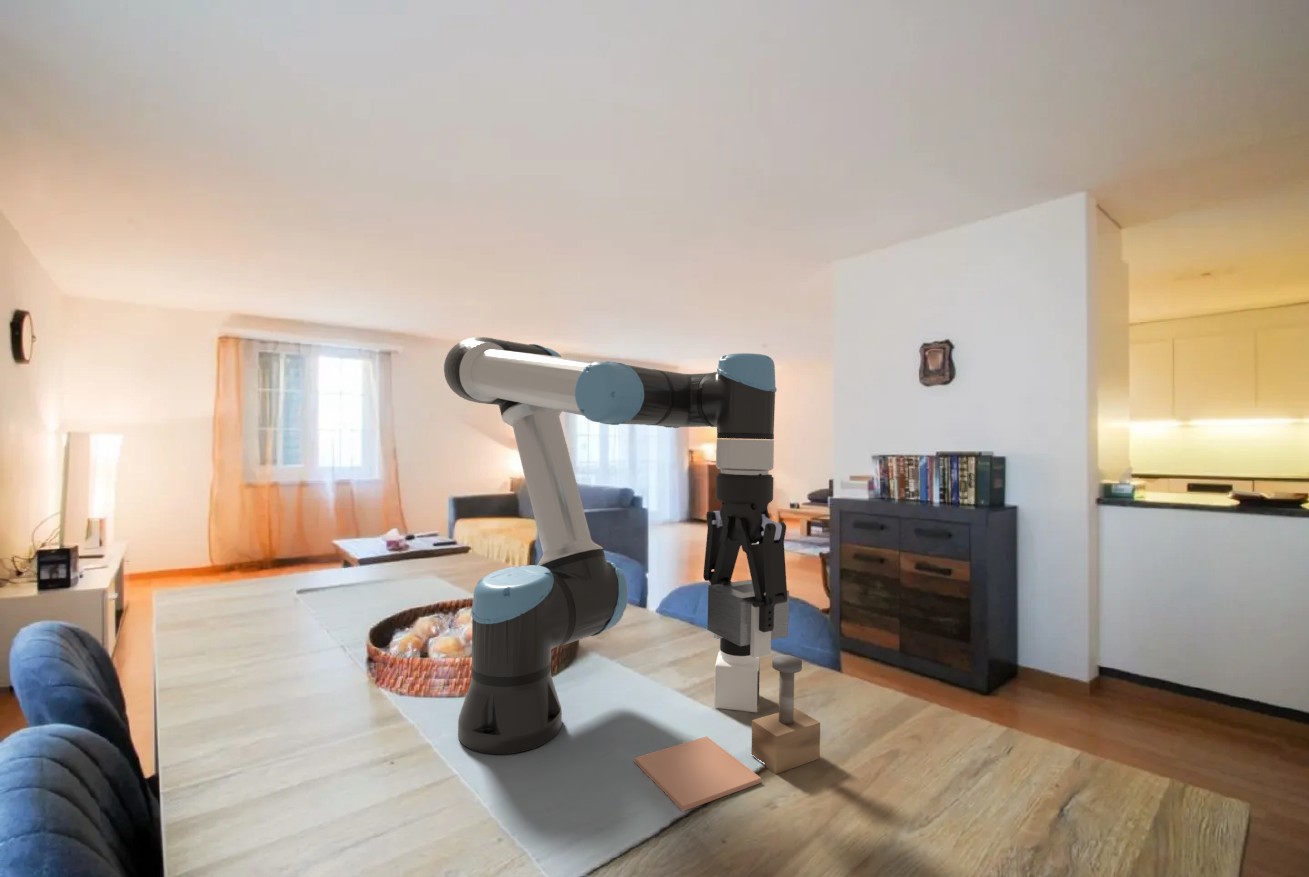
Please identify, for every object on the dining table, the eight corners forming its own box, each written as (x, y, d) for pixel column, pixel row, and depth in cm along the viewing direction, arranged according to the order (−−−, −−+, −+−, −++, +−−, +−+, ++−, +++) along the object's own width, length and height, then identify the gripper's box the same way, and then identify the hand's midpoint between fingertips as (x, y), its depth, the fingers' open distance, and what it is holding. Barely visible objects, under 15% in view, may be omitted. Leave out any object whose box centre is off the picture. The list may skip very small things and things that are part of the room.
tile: (634, 761, 79) (634, 757, 79) (706, 740, 86) (706, 736, 86) (682, 811, 69) (682, 806, 69) (760, 782, 75) (761, 777, 75)
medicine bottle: (758, 713, 94) (759, 639, 94) (713, 708, 96) (715, 635, 96) (759, 694, 101) (760, 625, 101) (717, 690, 103) (719, 622, 103)
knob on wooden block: (751, 756, 81) (753, 659, 81) (793, 741, 86) (795, 649, 86) (776, 774, 77) (777, 671, 77) (819, 758, 81) (821, 661, 81)
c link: (740, 646, 73) (741, 598, 73) (707, 629, 79) (708, 585, 79) (788, 636, 77) (789, 590, 77) (753, 621, 83) (754, 579, 83)
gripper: (821, 476, 71) (817, 666, 71) (721, 467, 88) (718, 620, 88) (774, 477, 67) (770, 678, 67) (679, 468, 84) (676, 627, 84)
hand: (741, 645), depth 77 cm, fingers closed on c link, 7 cm apart
